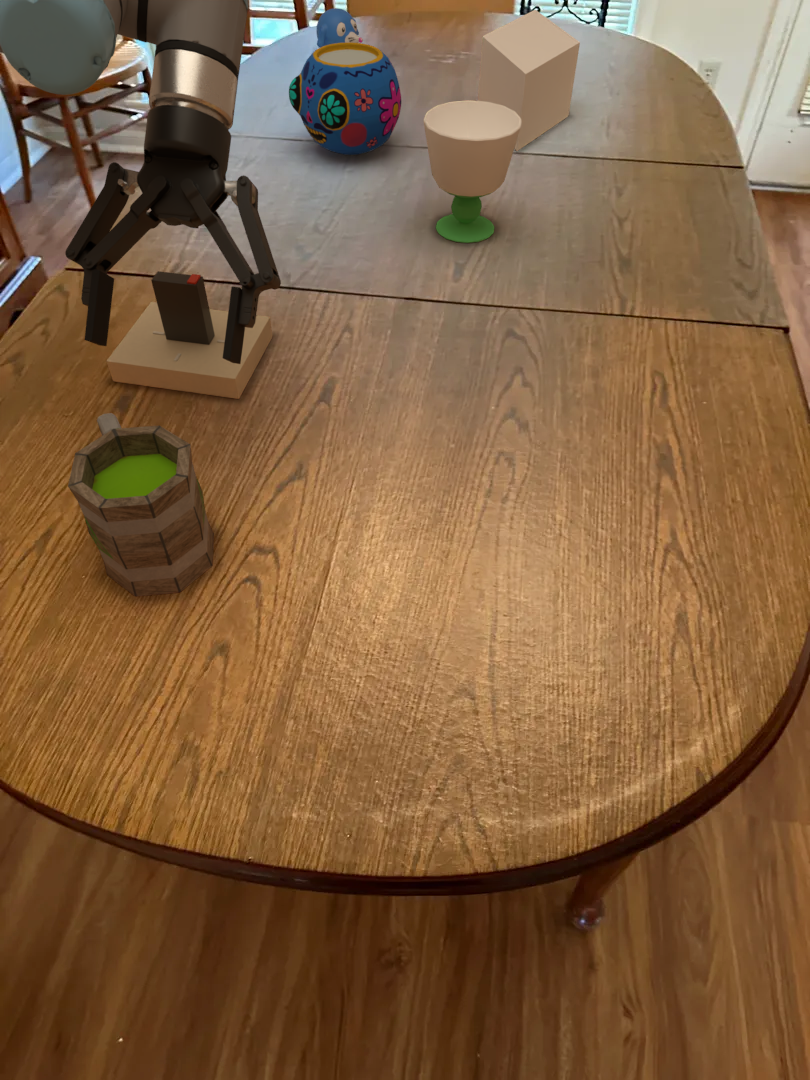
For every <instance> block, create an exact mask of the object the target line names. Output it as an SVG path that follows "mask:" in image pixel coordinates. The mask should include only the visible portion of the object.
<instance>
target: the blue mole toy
mask: <svg viewBox="0 0 810 1080" xmlns="http://www.w3.org/2000/svg"><path fill="white" fill-rule="evenodd" d="M315 30H316V38H317V41H316V46H317V48H318V49H319V48H321V47H323V46H326V45H329V44H335V43H349V42H351V43H362V44H363V41H364V38H363V37H360V36H359V34H360V31H359V29H358V26H357V21H356V19H355V18H354V17H353V16H352V15H351V14H350V12H349V11H347V10H345V9H342V8H339V7H337V8H334V7H333V8H329V9H327V10H325V11H324V12H323V13H322V14H321V15H320V16H319V18H318V21H317V23H316V29H315Z"/></svg>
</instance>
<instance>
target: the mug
mask: <svg viewBox="0 0 810 1080" xmlns="http://www.w3.org/2000/svg"><path fill="white" fill-rule="evenodd" d="M96 422H97V423H96V424H97V425H98V428H99V431H100V433H101V436H99V437H98V438H96V439H95V440H93V441H92V442H90V443H89V444H87V445H86V446H84V447H82V448H81V449H79V450H78V451H76V452H75V453H74V457H73V461H72V466H71V470H70V475H69V479H68V484H67V487H68V489H69V490H70V492H71V493H72V495H73V497H74V498H75V500H76V501H77V503H78V506H79V507H80V510H81V513H82V514H83V517H84V520H85V524H86V527H87V531H88V534H89V536H90V537H91V539H92V540H93V543H94V545H95V546H96V547H97V549H98V552H99V553H100V556H101V558H102V560H103V564H104V568H105V572H106V576H108V578H110V579H111V580H113V581H114V582H115V583H117V584H118V585H120V586H121V587H122V588H123V589H125V590H126V591H127V592H129V593H130V594H131V595H133V596H134V597H145V596H155V595H166V594H167V595H168V594H176V593H181V592H183V591H184V590H185V589H186V588H187V587H189V586H190V585H191V584H192V583H194V582H195V581H196V580H197V579H198V578H200V577H201V576H202V575H203V574H204V573H206V572H207V571H208V570H209V569H211V568H212V567H213V564H214V547H215V544H214V542H215V533H214V530H213V529H212V527H211V525H210V523H209V518H208V515H207V512H206V506H205V498H204V492H203V489H202V487H201V484H200V482H199V480H198V477H197V474H196V470H195V466H194V462H193V456H192V445H191V443H189V442H187V441H186V440H184V439H183V438H181V437H179V436H178V435H176V434H174V433H173V432H172V431H169V430H168V429H166V428H165V427H163V426H161V425H160V424H159V425H148V426H134V427H133V426H132V427H122V426H121V424H120V422H119V420H118V417H117V416H116V414H114V413H112V412H108V413H107V412H106V413H103V414H101V415H99V416H97V419H96Z"/></svg>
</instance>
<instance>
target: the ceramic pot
mask: <svg viewBox="0 0 810 1080" xmlns="http://www.w3.org/2000/svg"><path fill="white" fill-rule="evenodd" d="M300 71H301V72H300V73H299V74H298V75H297V76H296V77H294V78H293V79H292V80H291V82H290V84H289V86H288V99H289V102H290V103H289V104H290V105H291V106H292V108H293V110H294V111H295V112H296V113H297V114H298V115H299V116H300V119H301V121H302V123H303V125H304V127H305V129H306V131H307V133H308V134H309V135H310V137H311V139H312V140H313V141H314V143H316V144H318V145H319V146H320V147H322V148H323V149H325V150H328V151H330V152H333V153H336V154H339V155H346V156H355V155H356V156H357V155H362V154H366V153H369V152H372V151H374V150H376V149H378V148H380V147H381V146H383V145H385V143H386V142H387V141H388V140H390V137H391V136H392V134H393V132H394V129H395V128H396V125H397V123H398V121H399V118H400V115H401V110H402V94H401V88H400V83H399V78H398V75H397V73H396V69H395V67H394V65H393V63H392V62H391V60H390V58H389V57H388V56H387V55H386V54H385V53H384V52H383V51H382V50H381V49H380V48H378V47H376V46H374V45H371V44H367V43H363V42H362V43H360V42H359V43H351V42H349V43H335V44H329V45H326V46H323V47H321V48H319V47H318V48H317V49H315V50H314V51H313V52H312V53H311V55H310V56H309V57H308V58H307V59H306V61H305V63H304V64H303V67H302V69H301V70H300Z"/></svg>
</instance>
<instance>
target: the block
mask: <svg viewBox="0 0 810 1080" xmlns="http://www.w3.org/2000/svg"><path fill="white" fill-rule="evenodd" d="M580 45H581V42H580V41H579V40H578V39H576V38H575V37H573V36H572V35H571V34H569V33H568V32H567V31H565V30H564V29H562V28H561V27H560V26H558V25H557V24H555V23H554V22H553V21H552V20H550V19H549V18H548V17H546V16H544V14H542V13H541V12H539V11H538V10H537V9H534V10H531V11H530V12H528V13H526V14H523V15H522V16H520V17H518V18H516V19H514V20H511V21H510V22H508V23H506V24H504V25H501V26H499V27H497V28H496V29H494V30H492V31H490V32H488V33H486V34H484V35H482V37H481V49H480V50H481V51H480V52H481V53H480V60H479V61H480V63H479V77H478V90H477V101H484V102H490V103H494V104H499V105H503V106H505V107H507V108H509V109H511V110H513V111H515V112H516V113H517V114H518V116H519V117H520V118H521V119H522V123H521V128H520V132H519V135H518V138H517V141H516V145H515V148H514V150H515V151H516V152H519V150H522V149H523V148H525V146H527V145H529V144H530V143H531V142H533V141H534V140H536V139H537V138H540V136H541V135H543V134H545V133H546V132H547V131H549V130H551V129H552V128H553V127H555V126H557V125H558V124H559V123H560V122H562V121H564V120H565V119H566V118H568V117H569V116H570V109H571V102H572V95H573V90H574V84H575V76H576V71H577V65H578V58H579V51H580Z"/></svg>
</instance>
